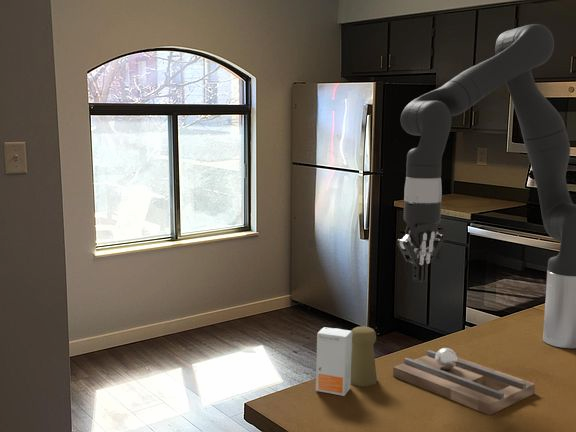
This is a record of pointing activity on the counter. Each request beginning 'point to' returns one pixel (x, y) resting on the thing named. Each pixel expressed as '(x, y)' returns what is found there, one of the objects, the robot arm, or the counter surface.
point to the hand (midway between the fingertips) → (419, 281)
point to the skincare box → (333, 361)
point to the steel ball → (446, 358)
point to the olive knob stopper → (363, 357)
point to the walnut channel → (465, 383)
